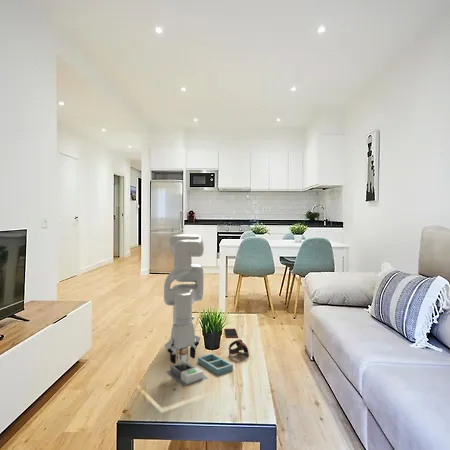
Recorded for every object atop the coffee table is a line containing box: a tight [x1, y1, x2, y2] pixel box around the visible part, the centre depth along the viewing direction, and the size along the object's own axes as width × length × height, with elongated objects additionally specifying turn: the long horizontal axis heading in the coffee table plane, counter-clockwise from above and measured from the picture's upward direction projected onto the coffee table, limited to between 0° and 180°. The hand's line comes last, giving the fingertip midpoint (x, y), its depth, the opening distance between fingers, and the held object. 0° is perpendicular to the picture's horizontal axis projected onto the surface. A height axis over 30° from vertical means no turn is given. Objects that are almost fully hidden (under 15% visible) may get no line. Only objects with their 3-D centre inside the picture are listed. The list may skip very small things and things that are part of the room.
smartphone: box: [223, 328, 239, 339], centre depth 207 cm, size 7×1×15 cm
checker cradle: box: [165, 362, 209, 387], centre depth 151 cm, size 16×12×5 cm
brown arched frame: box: [228, 339, 250, 357], centre depth 177 cm, size 12×10×8 cm
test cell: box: [177, 347, 189, 371], centre depth 153 cm, size 4×4×12 cm
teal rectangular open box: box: [197, 352, 234, 376], centre depth 160 cm, size 16×8×4 cm, turn 37°
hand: (183, 359), depth 153 cm, fingers open, 9 cm apart
